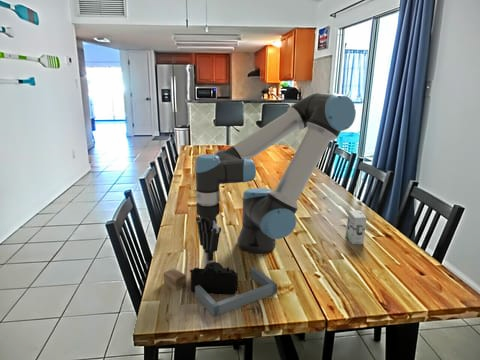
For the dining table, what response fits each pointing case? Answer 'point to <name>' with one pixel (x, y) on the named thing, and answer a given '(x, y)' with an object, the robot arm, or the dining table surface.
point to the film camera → (215, 279)
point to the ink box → (356, 227)
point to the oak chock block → (174, 279)
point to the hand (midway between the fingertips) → (208, 267)
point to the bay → (241, 299)
